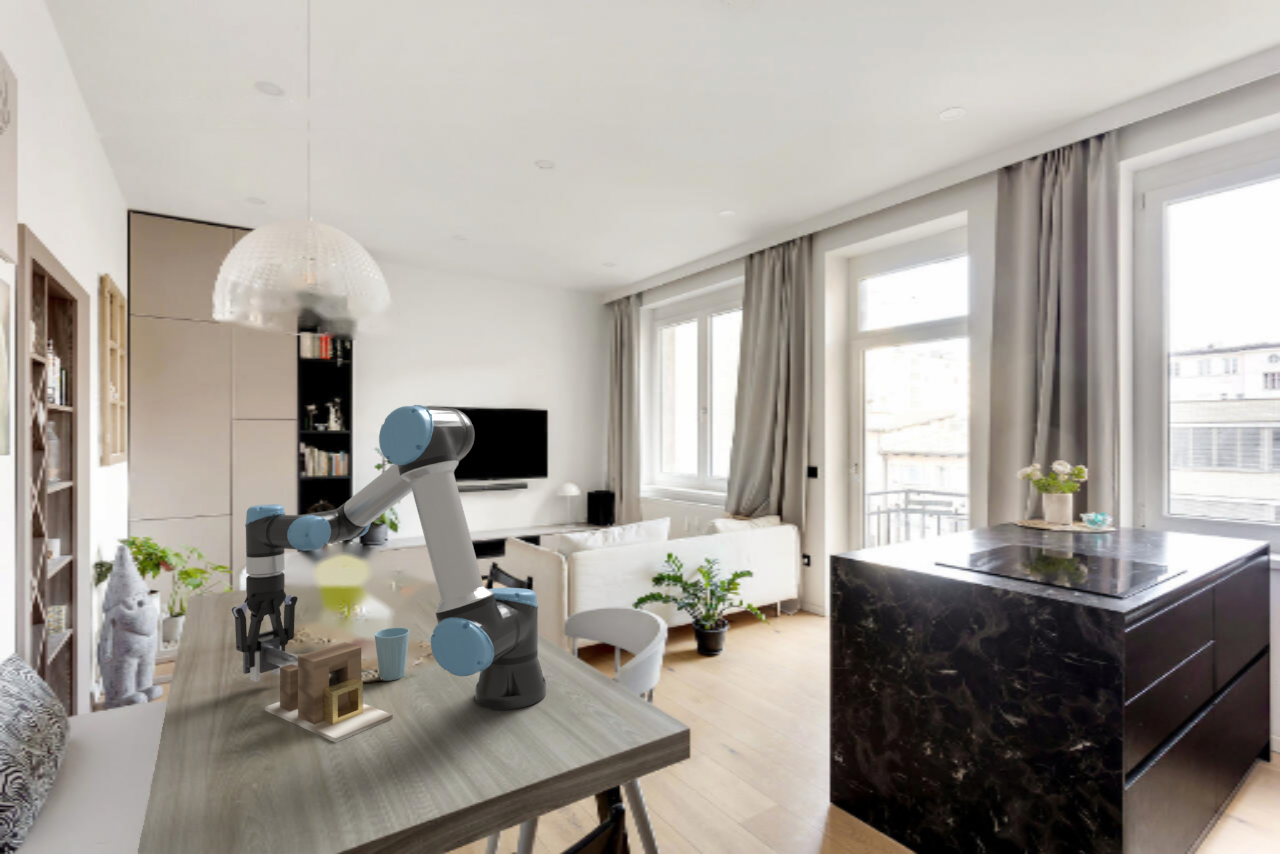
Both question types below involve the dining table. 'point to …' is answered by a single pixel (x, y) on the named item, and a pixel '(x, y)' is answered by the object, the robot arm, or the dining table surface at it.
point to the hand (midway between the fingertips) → (266, 676)
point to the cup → (392, 652)
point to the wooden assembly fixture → (307, 692)
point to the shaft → (275, 655)
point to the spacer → (331, 701)
